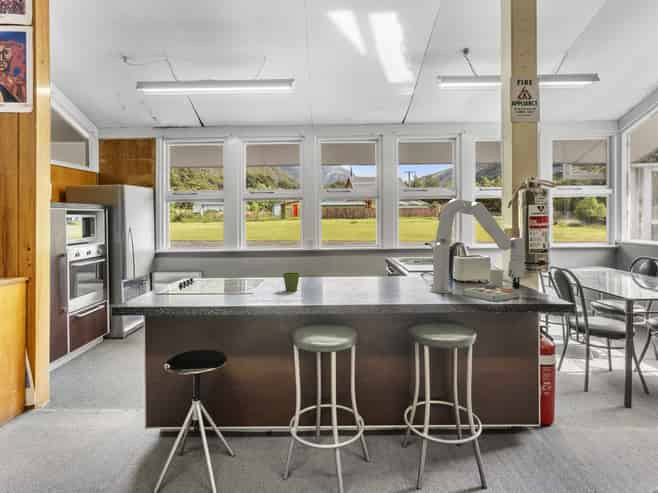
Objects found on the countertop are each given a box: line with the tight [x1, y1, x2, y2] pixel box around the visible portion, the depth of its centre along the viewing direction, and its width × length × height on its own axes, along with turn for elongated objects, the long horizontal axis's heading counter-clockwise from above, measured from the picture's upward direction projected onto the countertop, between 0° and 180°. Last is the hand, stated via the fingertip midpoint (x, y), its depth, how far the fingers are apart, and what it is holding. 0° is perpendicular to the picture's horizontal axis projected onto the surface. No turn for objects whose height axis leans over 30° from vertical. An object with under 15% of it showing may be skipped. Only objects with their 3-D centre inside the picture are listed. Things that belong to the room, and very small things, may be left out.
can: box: [488, 267, 504, 288], centre depth 278 cm, size 9×9×12 cm
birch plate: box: [477, 287, 518, 300], centre depth 247 cm, size 20×11×3 cm, turn 29°
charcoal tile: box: [483, 283, 498, 290], centre depth 253 cm, size 5×5×2 cm
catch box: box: [462, 287, 507, 303], centre depth 242 cm, size 22×11×4 cm, turn 29°
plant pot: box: [282, 271, 301, 292], centre depth 266 cm, size 12×12×11 cm
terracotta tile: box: [500, 286, 515, 293], centre depth 243 cm, size 5×5×2 cm
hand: (516, 288), depth 246 cm, fingers closed
